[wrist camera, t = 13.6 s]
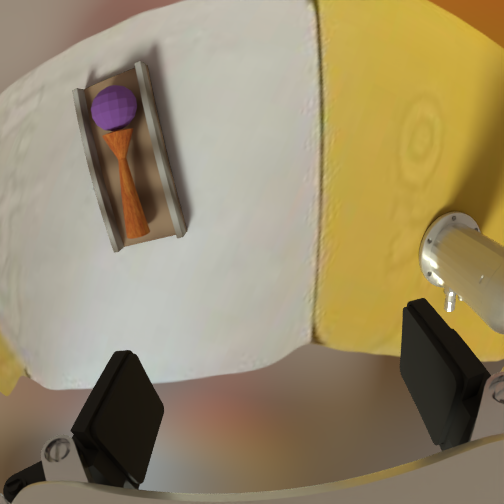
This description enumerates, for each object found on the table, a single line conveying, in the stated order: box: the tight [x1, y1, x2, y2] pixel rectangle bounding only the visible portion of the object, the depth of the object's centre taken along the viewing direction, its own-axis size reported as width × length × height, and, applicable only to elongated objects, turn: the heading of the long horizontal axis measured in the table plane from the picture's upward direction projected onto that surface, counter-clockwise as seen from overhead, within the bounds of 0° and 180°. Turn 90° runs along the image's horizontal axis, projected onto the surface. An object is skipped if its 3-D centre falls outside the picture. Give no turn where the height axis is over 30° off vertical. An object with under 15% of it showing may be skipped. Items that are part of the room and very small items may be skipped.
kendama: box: [91, 85, 150, 239], centre depth 37 cm, size 6×6×20 cm
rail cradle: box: [72, 61, 187, 253], centre depth 38 cm, size 24×11×3 cm, turn 12°
